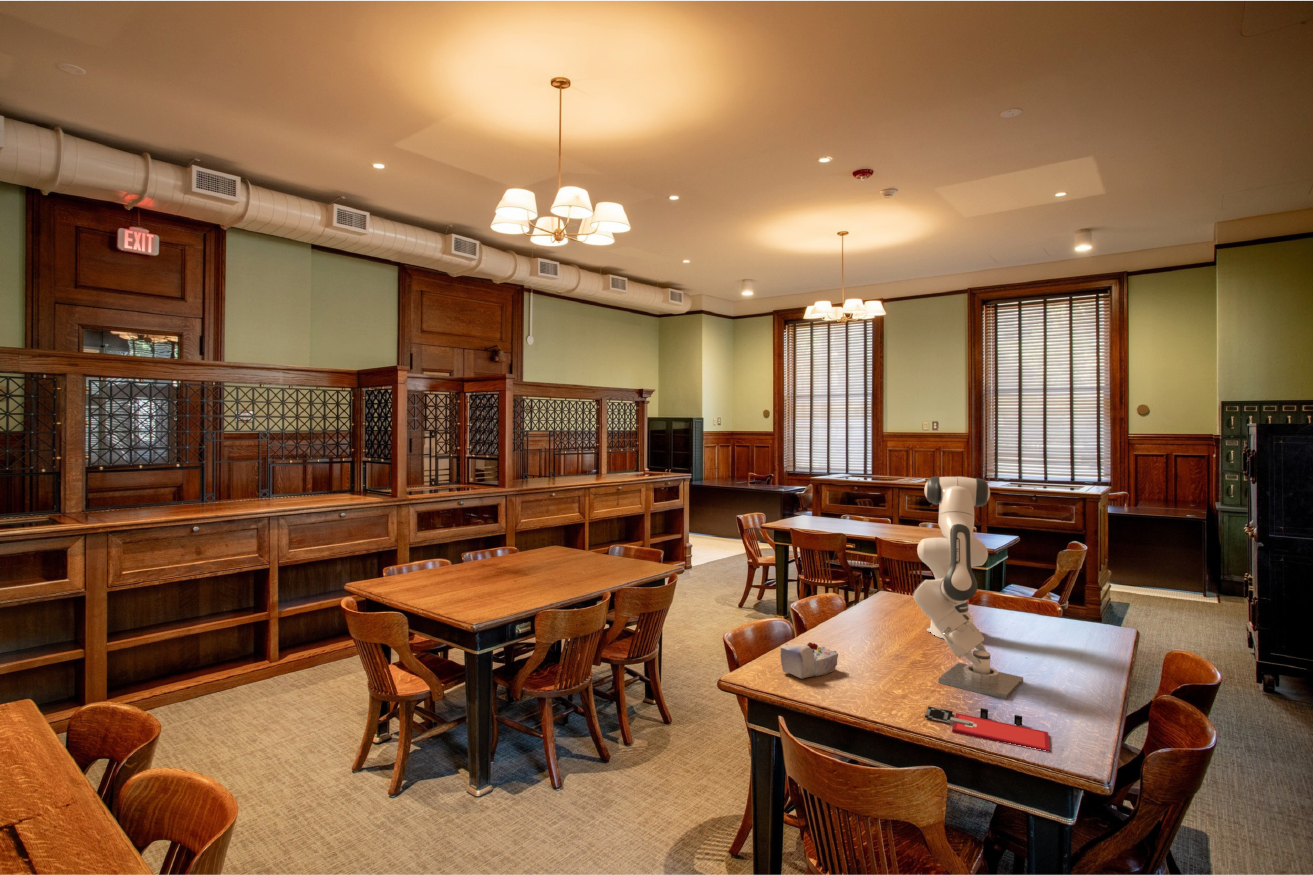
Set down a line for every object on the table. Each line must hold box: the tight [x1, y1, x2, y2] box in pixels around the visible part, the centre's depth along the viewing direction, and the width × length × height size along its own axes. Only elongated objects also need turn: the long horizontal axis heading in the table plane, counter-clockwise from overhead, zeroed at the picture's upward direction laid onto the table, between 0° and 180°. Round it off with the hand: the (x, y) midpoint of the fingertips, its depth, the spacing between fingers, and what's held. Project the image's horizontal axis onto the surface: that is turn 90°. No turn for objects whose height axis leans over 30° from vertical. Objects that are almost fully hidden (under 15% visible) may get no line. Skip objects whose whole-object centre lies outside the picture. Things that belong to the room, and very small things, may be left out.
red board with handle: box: [924, 705, 1051, 753], centre depth 179 cm, size 30×3×15 cm
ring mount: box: [938, 662, 1024, 701], centre depth 213 cm, size 20×20×4 cm
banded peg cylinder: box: [972, 649, 991, 674], centre depth 213 cm, size 5×5×8 cm
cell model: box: [780, 641, 839, 680], centre depth 221 cm, size 13×11×20 cm
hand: (983, 661), depth 212 cm, fingers open, 8 cm apart
